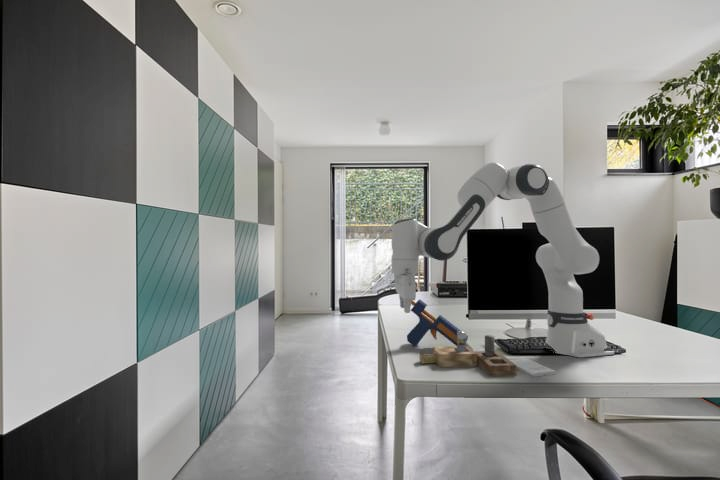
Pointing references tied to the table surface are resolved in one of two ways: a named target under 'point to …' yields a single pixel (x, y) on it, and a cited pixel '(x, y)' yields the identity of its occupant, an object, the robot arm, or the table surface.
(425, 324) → the glue gun
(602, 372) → the table surface
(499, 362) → the bit rack
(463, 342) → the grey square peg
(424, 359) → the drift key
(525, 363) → the external hard drive
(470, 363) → the socket block
